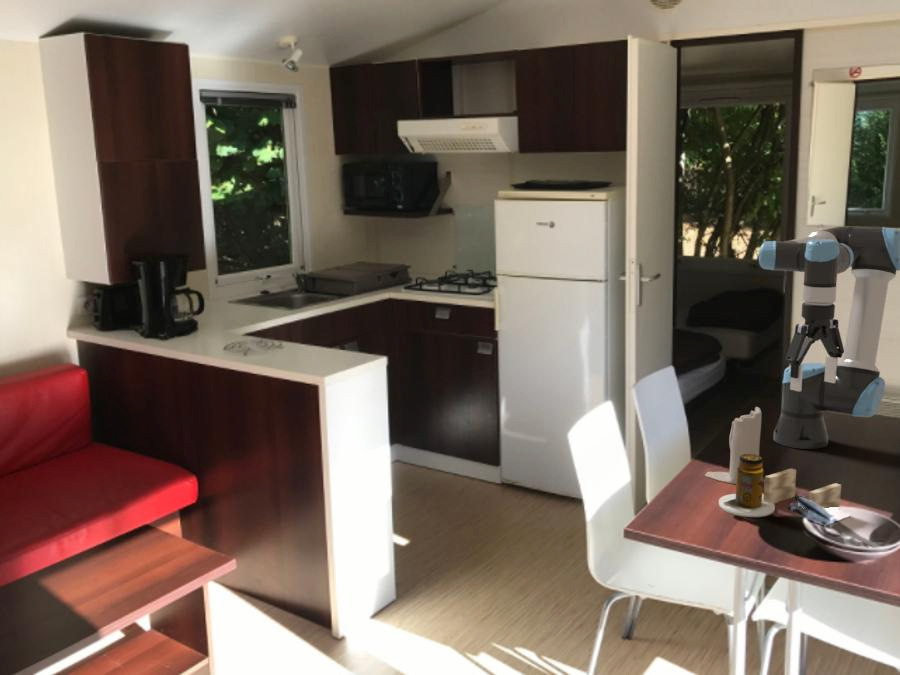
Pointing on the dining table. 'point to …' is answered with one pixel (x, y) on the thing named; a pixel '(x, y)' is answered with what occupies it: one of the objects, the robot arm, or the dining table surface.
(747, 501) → the condiment
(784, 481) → the rack
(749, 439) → the candle
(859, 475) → the dining table surface
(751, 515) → the coaster
